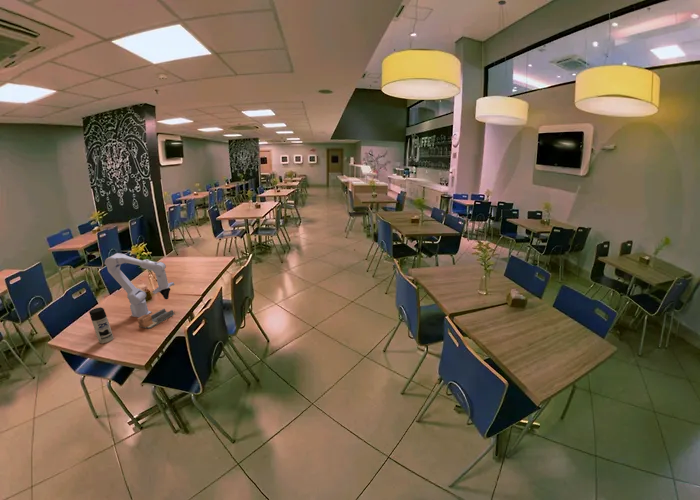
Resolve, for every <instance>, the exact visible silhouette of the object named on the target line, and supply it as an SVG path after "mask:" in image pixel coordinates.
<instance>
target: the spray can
mask: <svg viewBox="0 0 700 500" xmlns="http://www.w3.org/2000/svg"><path fill="white" fill-rule="evenodd" d="M88 313H89V316H90V319H91V323H92V325H93V329H94V330H95V335H96V337H97V341H98V343H99V344H107V343H109V342H112V341H113V340H114V335H113V331H112V328H111V325H110V323H109V318H108V316H107V313H106V311H105V308H103V307H101V306H100V307H96V308H93V309H90V310H89V312H88Z"/></svg>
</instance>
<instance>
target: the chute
mask: <svg viewBox="0 0 700 500" xmlns="http://www.w3.org/2000/svg"><path fill="white" fill-rule="evenodd" d="M150 316H151V318H152V321H153V324H151V325H149V326H147V327H141V326H139V325H138V327H139V328H144V329H149V330H150V329H152V328H153V327H156V326H158V325H159V324H161V323H163V322H164V321H165V320H168V319H169V318H170V317H173V316H175V312H174V310H173V309H171V310H169V311H167V310H166V308H162V309H160V310H159V311H157V312H155V313H153V314H151V315H150Z"/></svg>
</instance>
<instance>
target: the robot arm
mask: <svg viewBox="0 0 700 500" xmlns="http://www.w3.org/2000/svg"><path fill="white" fill-rule="evenodd" d="M123 264H131V265H135V266H140V268H141V269H145V270H149V271H152V273H154V275H155V278H156V283H157V286H158V287H157V288H155V289H154V290H152V294H154V295H156V294H158V293H159V294H160V295H161V296H162V297H163V299H164V300H168V299H169V297H170V295H169V294H170V292H171V287H172V286H175V282H172V281H171V282H169V281H168V277H167V273H166V268H167V265H166V263H164V262H163V261H153V260H150V259H148V258H146V259H143V260H142V259H138V258H135V257H133V256H132V257H131V256H128V255H127V254H125V253H120V252H116V253H114V254H113V255H111V256H109V257H106V259H105V261H104V265H105V266H106V269H107V272H108V273H109V274H110V275H111V277H112V278H113V279H114V280H115V281H116V282H117V283H118V285H120V287H121V288H122V289H123V290H124V291H125V292H126V293H127V297H126V298H127V299H128V302H129V304H130V305H129V306H130V307H129V308H130V311H131V312H130V313H131V315H130V317H135V318H139V317H141V316H143V315H150V314H151V313H152V311H150V310H149V308H148V304H147V301H146V300H147V299H146V298H147V292H146V291H144V290H143V289H141V288H138V287H136V286H135V285H134V284H133V283H132V281H131V280H130V279H129V278H128V277H127V276H126V275H125V273H124V272H123V271H122V270H121V265H123Z"/></svg>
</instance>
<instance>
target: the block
mask: <svg viewBox="0 0 700 500" xmlns="http://www.w3.org/2000/svg"><path fill="white" fill-rule="evenodd" d="M136 318H137V322H138V327H139V326H141V327H140V328H143V327H147V326H149V325H151V324H153V321H152V318H151V315H150V314H148V315H143V316H141V317H136Z"/></svg>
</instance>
